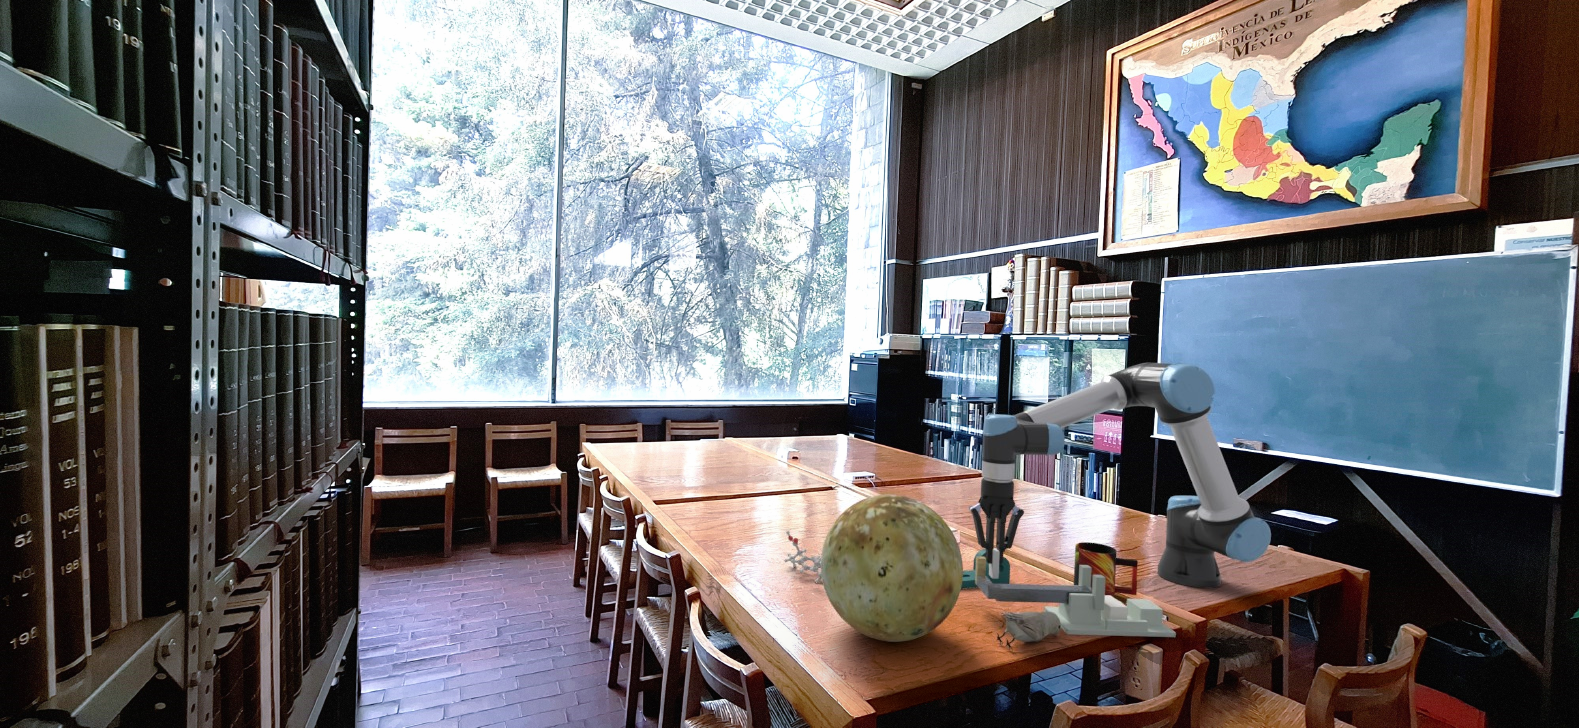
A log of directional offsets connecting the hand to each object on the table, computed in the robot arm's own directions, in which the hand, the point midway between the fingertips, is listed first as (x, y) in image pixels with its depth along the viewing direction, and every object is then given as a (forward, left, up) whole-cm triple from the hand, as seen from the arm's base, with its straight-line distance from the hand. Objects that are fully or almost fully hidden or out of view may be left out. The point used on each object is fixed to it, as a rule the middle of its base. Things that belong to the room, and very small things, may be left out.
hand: (993, 576), depth 159 cm
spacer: (-23, +7, -5) cm, 24 cm away
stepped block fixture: (-24, +8, -8) cm, 26 cm away
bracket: (0, -17, -8) cm, 18 cm away
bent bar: (-8, +4, -3) cm, 9 cm away
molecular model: (+43, -19, -8) cm, 48 cm away
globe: (+28, +17, -8) cm, 34 cm away
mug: (-32, -11, -8) cm, 35 cm away
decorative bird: (-2, +19, -8) cm, 20 cm away
